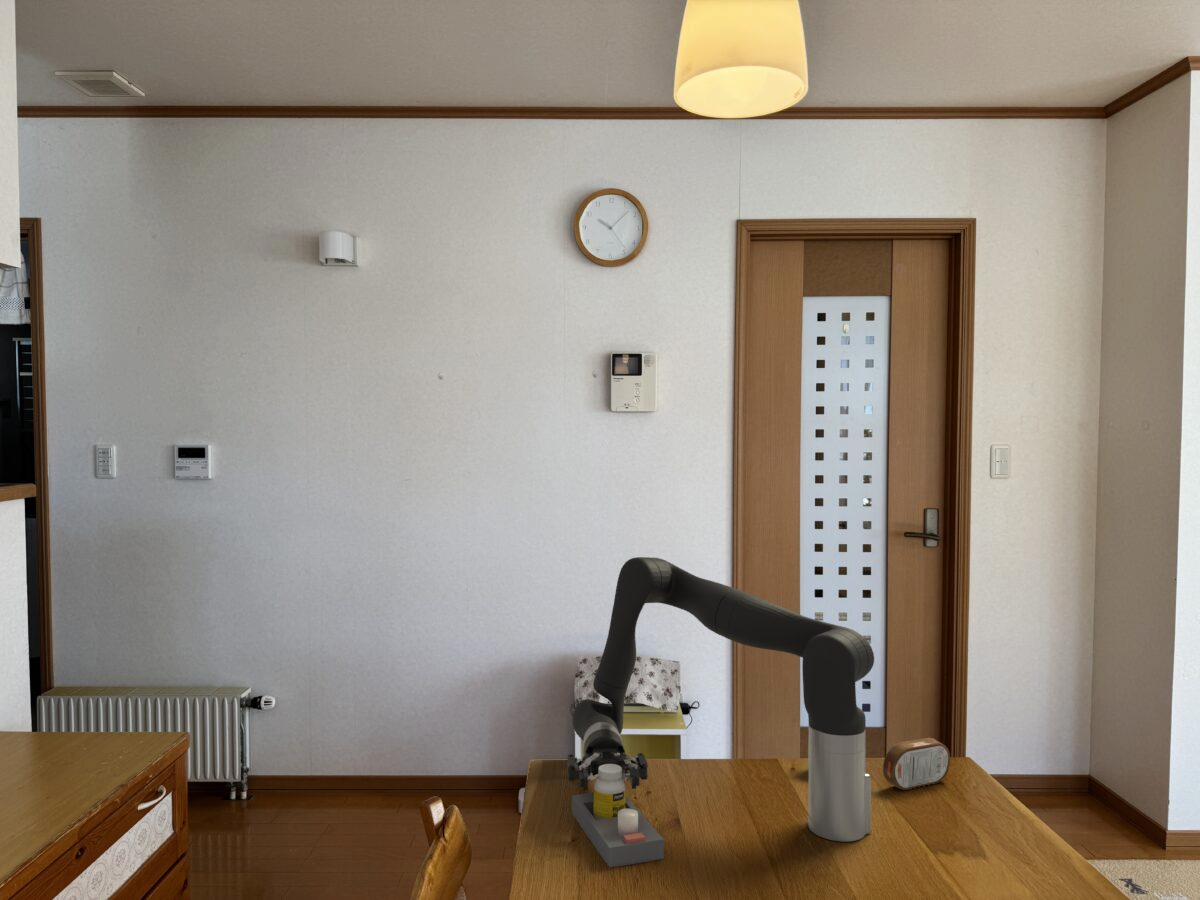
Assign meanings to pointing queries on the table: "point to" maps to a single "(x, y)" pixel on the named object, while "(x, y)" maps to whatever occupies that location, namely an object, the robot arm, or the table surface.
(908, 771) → the tin
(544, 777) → the table surface
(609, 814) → the supplement bottle
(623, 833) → the grey square-hole tray
